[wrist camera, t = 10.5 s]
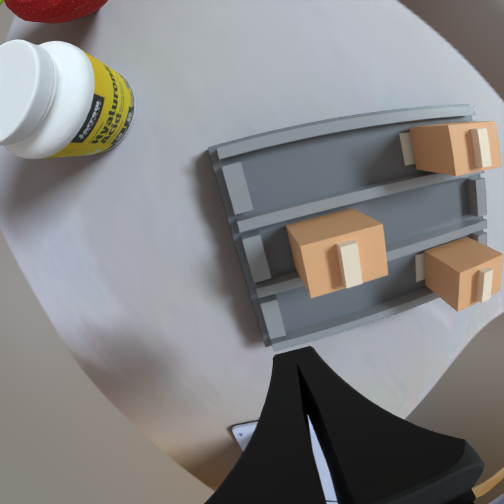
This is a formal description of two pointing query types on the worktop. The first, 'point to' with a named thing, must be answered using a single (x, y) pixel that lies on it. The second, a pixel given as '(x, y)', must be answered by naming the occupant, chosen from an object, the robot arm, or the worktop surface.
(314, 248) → the tan box with strip
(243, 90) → the worktop surface
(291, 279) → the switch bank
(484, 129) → the orange box
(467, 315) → the worktop surface
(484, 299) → the cardboard box
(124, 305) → the worktop surface
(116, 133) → the supplement bottle
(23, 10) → the strawberry
